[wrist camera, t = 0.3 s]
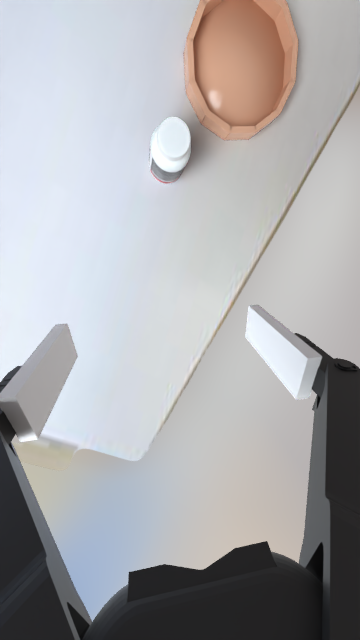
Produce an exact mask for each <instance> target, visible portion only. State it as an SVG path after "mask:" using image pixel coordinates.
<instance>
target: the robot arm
mask: <svg viewBox="0 0 360 640" xmlns="http://www.w3.org/2000/svg"><path fill="white" fill-rule="evenodd" d="M245 337H246V338H247V340H248V341H249V342H250V343H251V345H252V346H253V347H254V348H255V350H256V351H257V352H258V353H259V355H260V356H261V357H262V358H263V359H264V361H265V362H266V363H267V364H268V365H269V367H270V368H271V369H272V371H273V372H274V373H275V374H276V376H277V377H278V378H279V379H280V380H281V382H282V383H283V384H284V385H285V387H286V388H287V389H288V390H289V392H290V393H291V394H292V395H293V397H294V398H295V399H296V400H299V399H305V398H309V397H310V394H311V391H312V390H313V391H314V392H315V393H316V394H317V397H316V400H315V403H314V406H313V409H312V410H314V412H315V413H314V423H313V437H312V448H311V459H310V471H309V483H308V496H307V508H306V520H305V531H304V539H303V544H302V549H301V553H300V559H299V564H298V563H297V562H295V561H293V560H292V559H290V558H288V557H285V556H284V555H281V554H278V553H274V552H271V551H270V548H269V545H268V542H267V541H266V542H261V543H257V544H252V545H248V546H244V547H239V548H235V549H233V550H232V551H231V552H229V553H228V554H226V555H225V556H223V557H222V558H221V559H219V560H217V561H216V562H214V563H213V564H212V565H210V566H209V567H207V568H206V569H204V570H196V569H190V568H184V567H177V566H172V565H166V564H164V565H159V566H155V567H151V568H146V569H142V570H137V571H133V572H129V582H128V585H126V586H125V587H123V588H122V589H121V590H119V591H118V592H117V593H116V594H115V595H114V596H113V597H112V598H111V599H110V600H109V601H108V602H107V603H106V604H105V605H104V607H103V608H102V609H101V611H100V612H99V613H98V615H97V616H96V617H95V619H94V620H93V622H92V621H91V619H90V616H89V614H88V612H87V610H86V608H85V606H84V604H83V602H82V600H81V599H80V597H79V595H78V593H77V591H76V589H75V587H74V585H73V582H72V580H71V578H70V575H69V573H68V571H67V568H66V566H65V564H64V562H63V559H62V557H61V555H60V552H59V550H58V548H57V545H56V543H55V541H54V539H53V536H52V534H51V532H50V529H49V527H48V525H47V522H46V520H45V518H44V515H43V513H42V511H41V509H40V506H39V504H38V502H37V499H36V497H35V495H34V492H33V490H32V488H31V486H30V483H29V481H28V479H27V477H26V474H25V472H24V469H23V467H22V465H21V462H20V460H19V458H18V455H17V453H16V451H15V449H14V446H13V445H12V443H11V441H12V439H13V437H14V436H15V434H16V435H17V437H18V439H19V440H20V441H21V442H23V441H30V440H37V439H38V438H39V436H40V434H41V432H42V430H43V428H44V425H45V423H46V421H47V419H48V417H49V415H50V413H51V411H52V409H53V407H54V405H55V403H56V400H57V398H58V396H59V394H60V392H61V390H62V388H63V386H64V384H65V382H66V380H67V378H68V375H69V373H70V371H71V369H72V367H73V365H74V363H75V361H76V359H77V357H78V356H77V352H76V349H75V346H74V343H73V340H72V337H71V334H70V330H69V327H68V324H59V325H55V326H54V328H53V329H52V330H51V331H50V332H49V334H48V335H47V336H46V337H45V339H44V340H43V341H42V342H41V344H40V345H39V346H38V347H37V348H36V350H35V351H34V352H33V353H32V355H31V356H30V357H29V358H28V359H27V361H26V362H25V363H24V364H23V366H17V367H16V368H14V369H13V370H12V371H10V372H9V373H8V374H7V375H6V376H5V377H4V378H3V380H2V381H1V382H0V640H360V369H359V367H357V366H356V365H355V364H353V363H351V362H350V361H347V360H344V359H338V358H336V359H333V358H332V357H331V356H329V355H328V354H327V353H325V352H324V351H323V350H322V349H320V348H319V347H317V346H316V345H315V344H314V343H312V342H311V341H310V340H309V339H307V338H306V337H304V336H302V335H300V334H297V333H295V334H294V333H293V332H291V331H290V330H289V329H288V328H286V327H285V326H284V325H283V324H281V323H280V322H279V321H278V320H276V319H275V318H274V317H273V316H272V315H270V314H269V313H268V312H266V311H265V310H264V309H263V308H262V307H260V306H259V305H252V306H249V309H248V317H247V326H246V335H245Z"/></svg>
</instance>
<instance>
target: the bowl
mask: <svg viewBox="0 0 360 640" xmlns="http://www.w3.org/2000/svg"><path fill="white" fill-rule="evenodd" d="M297 53H298V38H297V35H296V31H295V28H294V25H293V21H292V18H291V14H290V11H289V8H288V4H287V3H286V1H285V0H200V2H199V5H198V8H197V11H196V14H195V16H194V19H193V22H192V25H191V28H190V30H189V33H188V36H187V40H186V44H185V49H184V53H183V54H184V71H185V88H186V94H187V96H188V98H189V101H190V103H191V105H192V107H193V109H194V111H195V113H196V115H197V117H198V119H199V121H200V123H202V125H203V126H204V127H206V128H207V129H209V130H210V131H212V132H213V133H214V134H216V135H217V136H219V137H220V138H221V139H223V140H249V139H250V138H252V137H253V136H254V135H255V134H257V133H258V132H259V131H261V130H262V129H263V128H265V127H266V126H267V125H268V124H270V123H271V122H272V121H273V120H274V119H275V118H276V117H277V116H278V115H280V113H281V111H282V109H283V107H284V104H285V102H286V100H287V98H288V96H289V94H290V92H291V90H292V88H293V86H294V84H295V79H296V66H297Z"/></svg>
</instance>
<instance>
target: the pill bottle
mask: <svg viewBox="0 0 360 640" xmlns="http://www.w3.org/2000/svg"><path fill="white" fill-rule="evenodd" d="M190 141H191V136H190V131H189V128H188V126H187V125H186V123H185V122H184V121H183V120H182V119H180V118H178V117H169V118H166V119H165V120H164V121H163V122H162V123H161V124H160V125H159V126H158V127H157V128H156V129H155V130H154V132H153V134H152V137H151V141H150V153H149V168H150V171H151V173H152V175H153V177H154V178H155V179H156V180H157V181H159V182H160V183H163V184H171V183H173V182H175V181H176V180H177V179H178V178H179V176H180V175H181V173H182V171H183V169H184V168H185V166H186V164H187V163H188V160H189V158H190V154H191V143H190Z"/></svg>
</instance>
